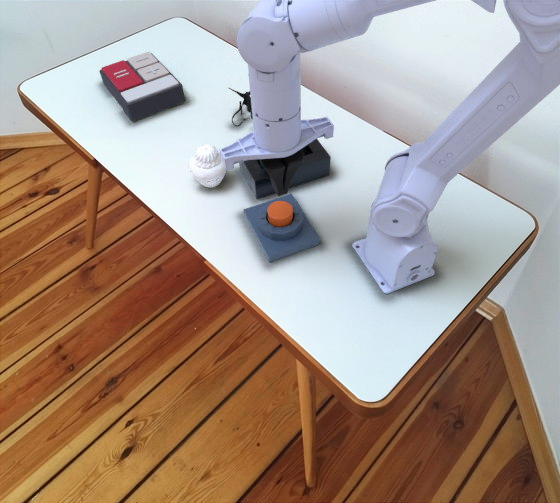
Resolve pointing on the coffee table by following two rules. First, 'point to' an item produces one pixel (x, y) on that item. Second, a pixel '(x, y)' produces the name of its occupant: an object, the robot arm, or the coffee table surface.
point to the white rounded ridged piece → (207, 166)
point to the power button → (280, 214)
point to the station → (281, 230)
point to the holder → (308, 171)
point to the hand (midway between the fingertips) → (279, 190)
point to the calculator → (142, 86)
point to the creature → (244, 103)
